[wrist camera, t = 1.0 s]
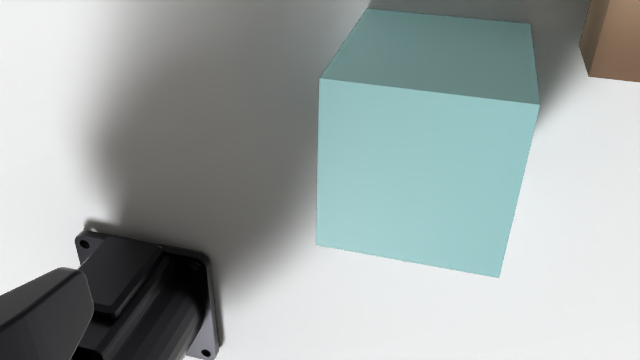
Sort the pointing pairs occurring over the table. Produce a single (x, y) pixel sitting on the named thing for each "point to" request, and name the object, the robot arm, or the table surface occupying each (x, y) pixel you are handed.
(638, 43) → the base
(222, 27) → the table surface
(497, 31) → the block
